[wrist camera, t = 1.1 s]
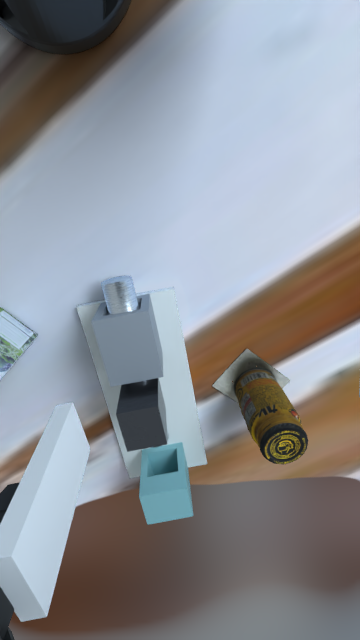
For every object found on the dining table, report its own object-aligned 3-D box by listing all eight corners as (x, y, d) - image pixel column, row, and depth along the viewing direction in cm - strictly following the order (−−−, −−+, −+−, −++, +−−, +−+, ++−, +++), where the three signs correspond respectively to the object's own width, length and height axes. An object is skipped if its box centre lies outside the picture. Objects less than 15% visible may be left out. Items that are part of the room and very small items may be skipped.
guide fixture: (78, 304, 40) (57, 333, 32) (173, 286, 40) (178, 311, 32) (130, 473, 50) (124, 528, 42) (206, 458, 50) (216, 511, 42)
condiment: (255, 414, 48) (285, 480, 37) (211, 385, 46) (229, 446, 34) (289, 379, 46) (332, 438, 35) (246, 347, 44) (276, 399, 33)
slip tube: (99, 280, 37) (82, 304, 29) (137, 273, 37) (131, 295, 29) (141, 432, 45) (137, 485, 37) (172, 426, 45) (175, 478, 37)
